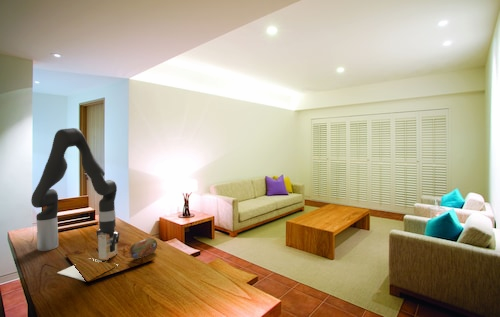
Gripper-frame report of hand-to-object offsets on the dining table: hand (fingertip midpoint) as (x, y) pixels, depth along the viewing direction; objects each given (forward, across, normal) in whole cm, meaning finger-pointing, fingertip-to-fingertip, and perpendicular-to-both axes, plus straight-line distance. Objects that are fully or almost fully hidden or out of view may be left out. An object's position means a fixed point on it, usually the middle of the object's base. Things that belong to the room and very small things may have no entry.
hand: (108, 250), depth 135 cm
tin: (+4, +16, +8) cm, 18 cm away
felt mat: (+4, +3, -13) cm, 14 cm away
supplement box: (+4, 0, 0) cm, 4 cm away
